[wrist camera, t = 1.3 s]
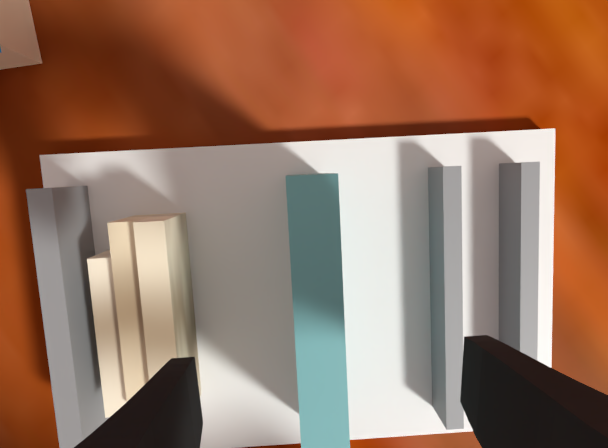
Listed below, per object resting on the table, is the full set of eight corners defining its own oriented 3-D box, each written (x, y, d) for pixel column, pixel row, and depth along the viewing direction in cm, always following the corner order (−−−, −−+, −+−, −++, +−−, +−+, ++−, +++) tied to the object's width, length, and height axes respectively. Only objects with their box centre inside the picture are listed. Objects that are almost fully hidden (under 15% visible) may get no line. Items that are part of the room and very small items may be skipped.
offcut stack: (201, 393, 21) (184, 436, 18) (128, 398, 21) (96, 442, 18) (185, 212, 20) (164, 220, 17) (108, 216, 20) (70, 225, 17)
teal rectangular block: (330, 413, 22) (354, 553, 14) (301, 415, 22) (307, 556, 14) (319, 173, 20) (338, 173, 12) (287, 174, 20) (285, 176, 12)
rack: (539, 414, 23) (591, 465, 19) (87, 446, 22) (43, 505, 18) (542, 130, 21) (601, 120, 17) (51, 155, 21) (-6, 151, 17)
